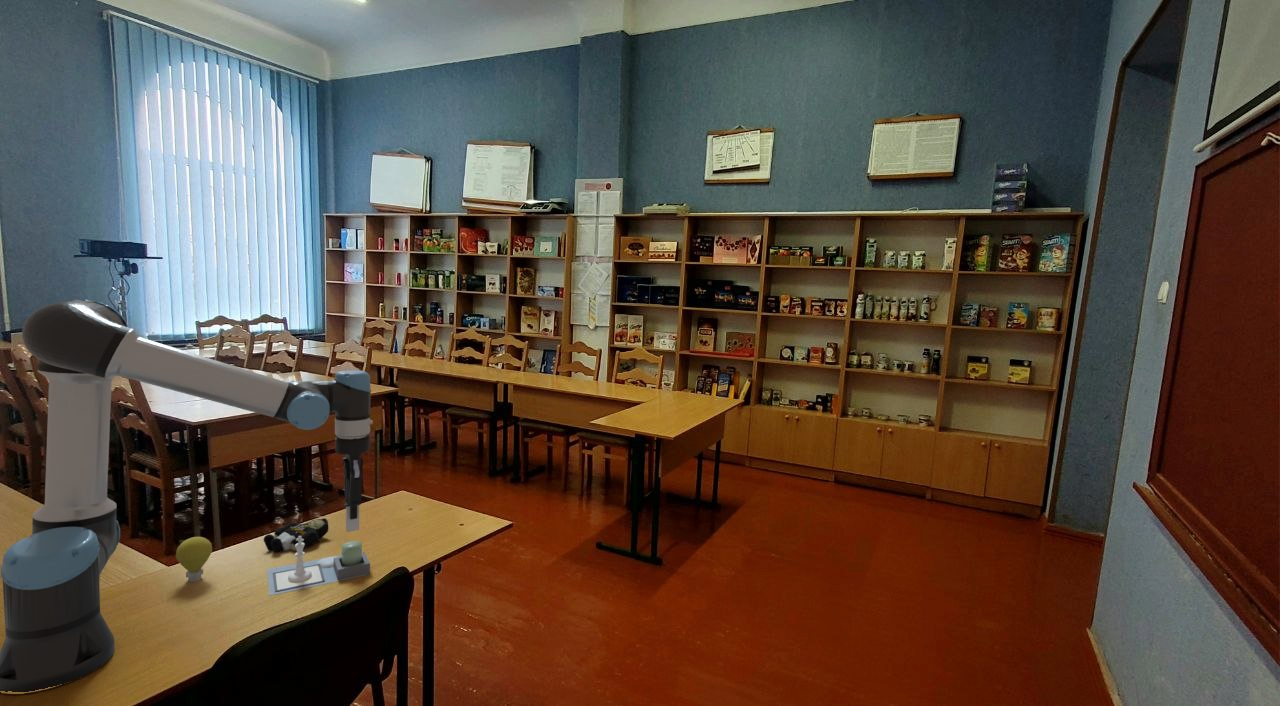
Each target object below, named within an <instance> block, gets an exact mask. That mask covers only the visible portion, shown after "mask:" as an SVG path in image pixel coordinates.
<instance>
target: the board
mask: <svg viewBox="0 0 1280 706" xmlns="http://www.w3.org/2000/svg"><path fill="white" fill-rule="evenodd" d="M296 565H297V563H294V564H288V565H283V566H277V567H272V568H271V567H270V568H267V569H266V571H267V581H268V593H269V596H270V597H271V596H275V595H280V594H284V593H288V592H294V591H300V590H303V589H308V588H312V587H318V586H322V585H327V584H331V583H335V582H340V581H344V580H345V581H346V580H350V579H354V578H359V577H364V576H369V574H371V562H370V560H369V558H368V556H367V554H366V552H365V551H364V552H363V551H362V562H361V563H360V564H355V565H350V566H342V554H340V555H335V556H328V557H324V558H319V559H313V560H309V561H305V562H304V561H303V566H304V568H305V569H308V570H310V571H311V574H312V576H311V577H310V578H308V579H307V580H304V581H300V582H291V581H288V575H289V574H290V573H291V572H293V571H294V570H296Z"/></svg>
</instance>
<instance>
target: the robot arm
mask: <svg viewBox="0 0 1280 706" xmlns="http://www.w3.org/2000/svg"><path fill="white" fill-rule="evenodd" d="M21 333H22V336H21V337H22V341H23V344H24V347H25V348H26V350H28V352H29V353H30V354H31V356H32V355H33V356H34V357H35V358H36V359H37V372H38V373H39V374H41V375H42V376H44V377H45V378H46V379H47V380H48V402H47V404H48V405H47V427H46V428H47V430H46V431H47V432H46V434H47V435H46V457H45V458H46V460H45V483H44V484H45V487H44V488H45V489H44V504H43V505H42V506H40V507H39V508H38V509H36V510H35V511H34V512H33V513H32V523H31V535H30V536H29V537H23V538H22V539H19V540H18V541H16V542H15V543H14V544H12V545H10V547H8V549H6V551H5V553H4V554H3V556H2V557H3V558H2V564H1V568H0V573H1V574H0V577H1V580H2V591H3V594H2V595H3V609H4V610H3V611H4V626H5V627H4V629H5V638H4V641H3V642H2V643H3V644H2V646H1V649H0V691H5V692H8V691H12V692H29V691H35V690H39V689H45V688H48V687H53V686H57V685H60V684H64V683H67V682H70V681H72V682H74V681H73V680H75V681H77V680H78V678H79V679H81V678H84V677H85V675H86V676H88V675H89V674H91V673H93V672H95V671H97V670H98V669H99V668H101V667H102V666H104V665H105V664H106V663H107V662H109V660H110V659H111V658H112V657H113V655H114V654H115V651H116V650H115V647H116V646H115V637H114V636H115V635H114V634H113V632H112V631H111V629H110V628H109V625H108V623H107V622H106V620H105V619H104V617H103V615H102V613H101V612H102V611H101V597H100V595H101V593H100V579H101V578H100V577H101V574H102V571H104V568H105V567H106V565H107V563H108V561H109V560H110V558H111V556H112V555H113V554H114V552H115V551H116V549H117V547H118V545H119V543H120V538H121V528H120V524H119V521H118V520H117V508H118V507H117V502H115V501H114V500H113V499H110V498H109V497H108V480H109V478H108V476H109V474H108V473H109V455H110V454H109V453H110V452H109V451H110V430H111V429H110V427H111V423H110V422H111V406H112V405H111V403H112V382H113V381H112V380H113V379H114V378H116V377H122V378H126V379H130V380H134V381H137V382H141V383H145V384H148V385H152V386H156V387H160V388H162V389H168V390H171V391H175V392H178V393H182V394H185V395H189V396H192V397H193V396H194V397H195V398H196V397H197V398H200V399H204V400H208V401H211V402H215V403H219V404H222V405H226V406H230V407H234V408H237V409H242V410H244V411H249V412H253V413H256V414H260V415H263V416H266V417H267V416H268V417H270V418H271V417H272V418H273V419H274V418H275V419H278V420H280V421H283V422H284V421H285V422H288V423H290V424H291V425H292V426H294V427H295V428H297V429H300V430H305V431H309V430H311V431H312V430H315V429H317V428H320V427H322V426H323V425H324V424H326V423H325V422H326V421H327V420H328V418H329V417H330V413H335V416H334V434H335V435H336V437H335V439H334V447H335V448H334V451H335V452H336V453H337V454H338V455H339V454H340V455H344V456H345V457H342V465H343V480H344V481H343V482H344V495H343V496H344V498H345V503H344V504H343V507H344V508H345V531H346V533H349V532H350V533H351V532H354V531H356V532H357V531H359V530H360V505H362V489H363V486H362V485H363V475H364V469H363V467H364V459H362V456H361V454H363V453H367V452H369V451H370V450H371V435H369V434H370V433H371V426H370V425H373V424H374V421H373V419H371V401H372V400H371V399H372V398H371V397H372V395H371V394H372V390H371V389H372V388H371V376H370V374H369V372H367V371H365V370H354V369H353V370H351V369H350V370H339V371H337V372H336V373H335V375H334V376H335V377H334V378H333V379H331V380H307V381H306V380H305V381H304V380H303V381H302V380H300V381H297V380H296V381H295V380H291V381H284V380H280V379H278V378H275V377H271V376H267V375H265V374H261V373H257V372H254V371H252V370H248V369H245V368H241V367H239V366H235V365H231V364H228V363H226V362H222V361H220V360H215V359H212V358H208V357H206V356H203V355H199V354H196V353H193V352H189V351H186V350H183V349H180V348H176V347H173V346H171V345H168V344H167V345H166V344H163V343H160V342H157V341H154V340H150V339H148V338H144V337H140V336H139V335H138V333H137V331H136V330H135V329H134V328H131V327H129V325H128V323H127V321H126V319H125V317H124V316H123V315H122V314H121V313H120V312H119V311H118V310H117V309H115V308H114V307H112V306H110V305H109V304H105V303H103V302H99V301H94V300H88V299H74V300H68V301H62V302H54V303H50V304H47V305H44V306H41V307H40V308H37V310H35V311H33V312H32V313H31V314H30V315H29V316H28V318H27V319H26V320H25V322H24V324H23V326H22V331H21ZM97 668H98V669H97ZM94 670H95V671H94ZM80 677H81V678H80ZM76 679H77V680H76ZM70 683H71V682H70ZM67 684H68V683H67ZM64 685H65V684H64Z"/></svg>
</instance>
